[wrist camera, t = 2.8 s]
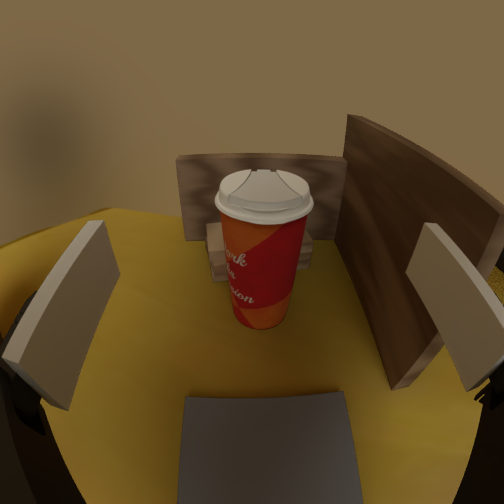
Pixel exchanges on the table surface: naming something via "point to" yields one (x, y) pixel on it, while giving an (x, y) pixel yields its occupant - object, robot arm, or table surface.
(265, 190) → the paper cup
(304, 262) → the offcut stack
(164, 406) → the table surface
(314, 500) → the rubber mat
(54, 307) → the robot arm
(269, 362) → the table surface
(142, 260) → the table surface
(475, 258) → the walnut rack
